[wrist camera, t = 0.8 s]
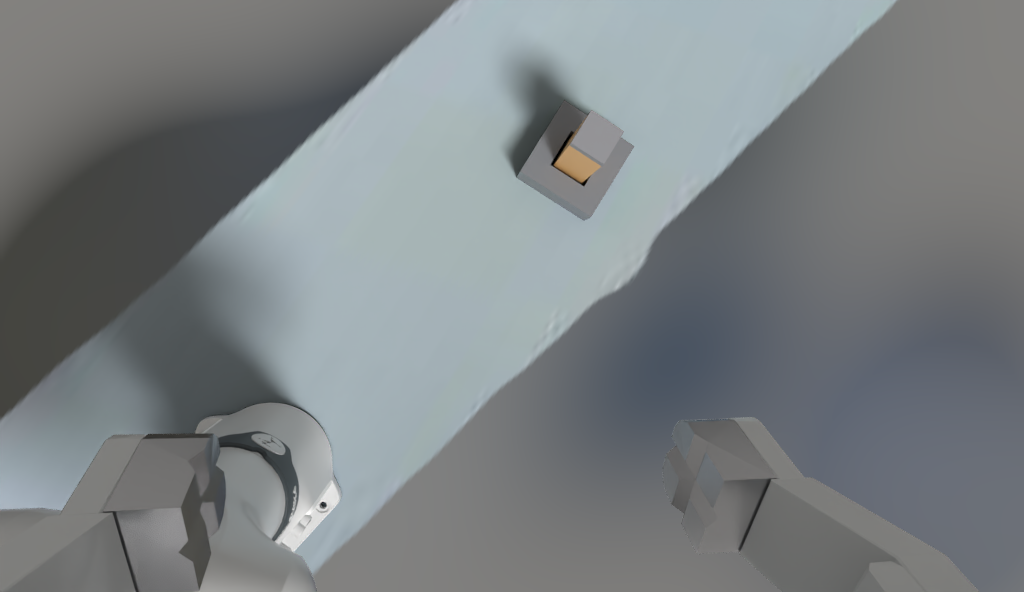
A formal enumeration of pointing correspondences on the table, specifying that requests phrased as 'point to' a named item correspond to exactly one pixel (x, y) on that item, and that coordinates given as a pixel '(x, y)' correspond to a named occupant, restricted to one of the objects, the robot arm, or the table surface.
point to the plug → (588, 147)
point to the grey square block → (560, 185)
